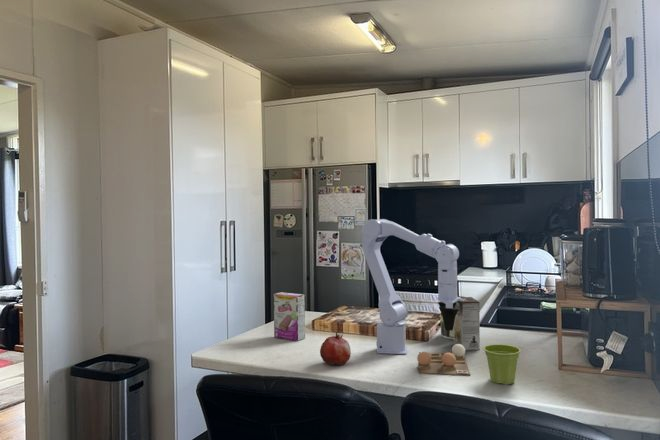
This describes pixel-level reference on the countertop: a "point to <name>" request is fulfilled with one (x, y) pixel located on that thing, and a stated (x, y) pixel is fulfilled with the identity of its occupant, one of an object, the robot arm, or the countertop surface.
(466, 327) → the coffee box
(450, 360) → the terracotta ball
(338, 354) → the fruit
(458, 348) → the cream ball
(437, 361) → the board
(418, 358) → the terracotta ball
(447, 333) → the coffee can
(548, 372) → the countertop surface
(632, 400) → the countertop surface
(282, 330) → the candy bar box
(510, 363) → the plant pot
